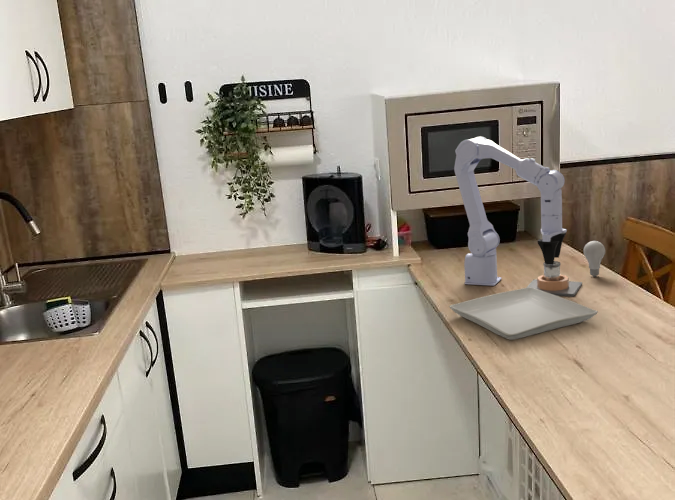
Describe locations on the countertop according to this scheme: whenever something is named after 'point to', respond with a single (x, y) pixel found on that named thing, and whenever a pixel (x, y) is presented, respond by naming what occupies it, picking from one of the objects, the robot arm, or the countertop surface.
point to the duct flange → (556, 286)
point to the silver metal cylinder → (552, 271)
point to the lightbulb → (594, 256)
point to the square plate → (522, 312)
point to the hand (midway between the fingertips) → (552, 260)
